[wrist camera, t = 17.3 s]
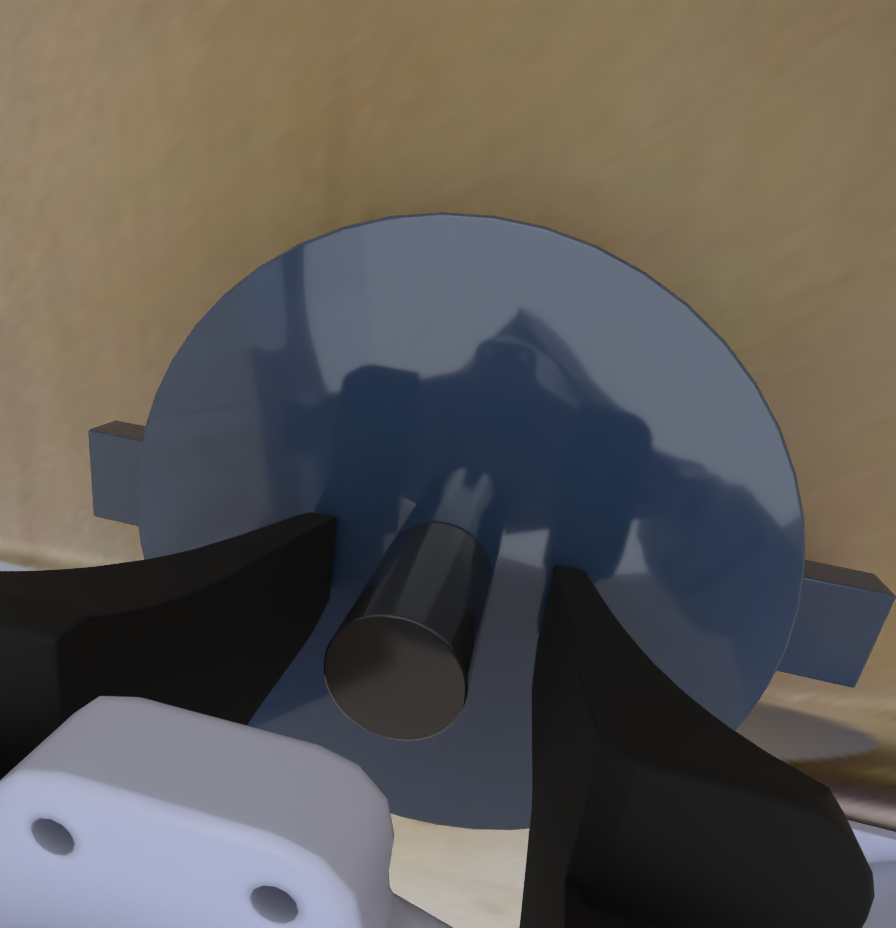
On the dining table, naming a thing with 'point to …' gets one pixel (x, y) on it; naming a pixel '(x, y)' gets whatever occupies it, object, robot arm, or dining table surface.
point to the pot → (811, 641)
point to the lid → (478, 487)
